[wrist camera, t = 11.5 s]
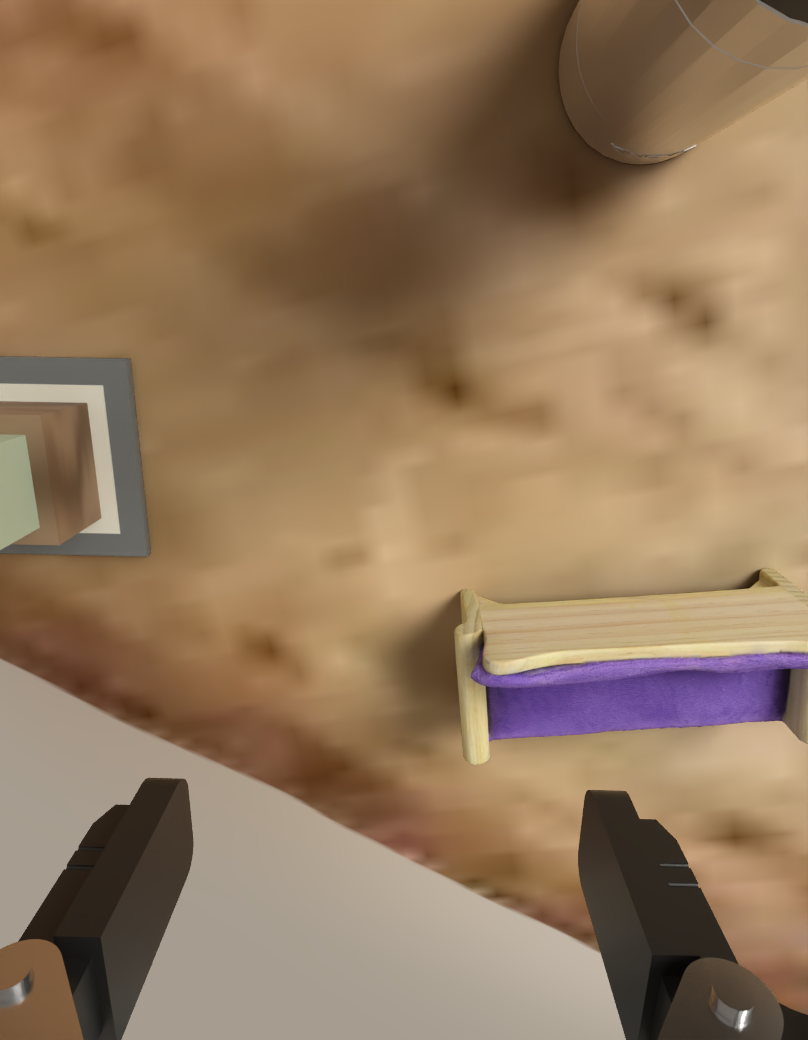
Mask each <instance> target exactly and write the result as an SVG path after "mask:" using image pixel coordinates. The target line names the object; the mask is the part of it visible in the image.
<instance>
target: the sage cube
mask: <svg viewBox="0 0 808 1040" xmlns="http://www.w3.org/2000/svg"><path fill="white" fill-rule="evenodd" d="M38 528H40V526H39V519H38V513H37V506H36V500H35V493H34V487H33V481H32V474H31V468H30V461H29V455H28V448H27V442H26V436H25V435H2V434H0V550H1V549H3V548H5V547H7V546H8V545H10V544H12V543H14V542H16V541H17V540H19V539H21V538H23V537H24V536H26V535H28V534H30V533H31V532H33V531H35V530H37V529H38Z"/></svg>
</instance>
